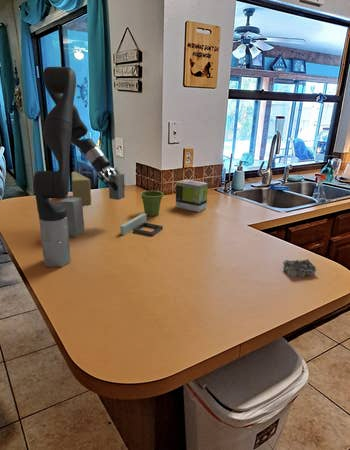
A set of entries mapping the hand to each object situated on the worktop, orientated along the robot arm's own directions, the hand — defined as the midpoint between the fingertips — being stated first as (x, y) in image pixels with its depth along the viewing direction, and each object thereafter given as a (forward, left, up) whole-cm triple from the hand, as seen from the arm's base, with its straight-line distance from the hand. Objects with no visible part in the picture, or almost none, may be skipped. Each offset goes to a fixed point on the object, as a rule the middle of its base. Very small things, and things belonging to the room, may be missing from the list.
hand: (120, 188), depth 154 cm
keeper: (-7, -13, -18) cm, 23 cm away
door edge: (-3, -6, -18) cm, 19 cm away
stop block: (+1, +2, -5) cm, 5 cm away
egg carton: (-45, -68, -18) cm, 84 cm away
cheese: (+39, +28, -18) cm, 51 cm away
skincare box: (-11, +20, -18) cm, 29 cm away
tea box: (+29, -36, -18) cm, 50 cm away
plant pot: (+17, -14, -18) cm, 28 cm away
